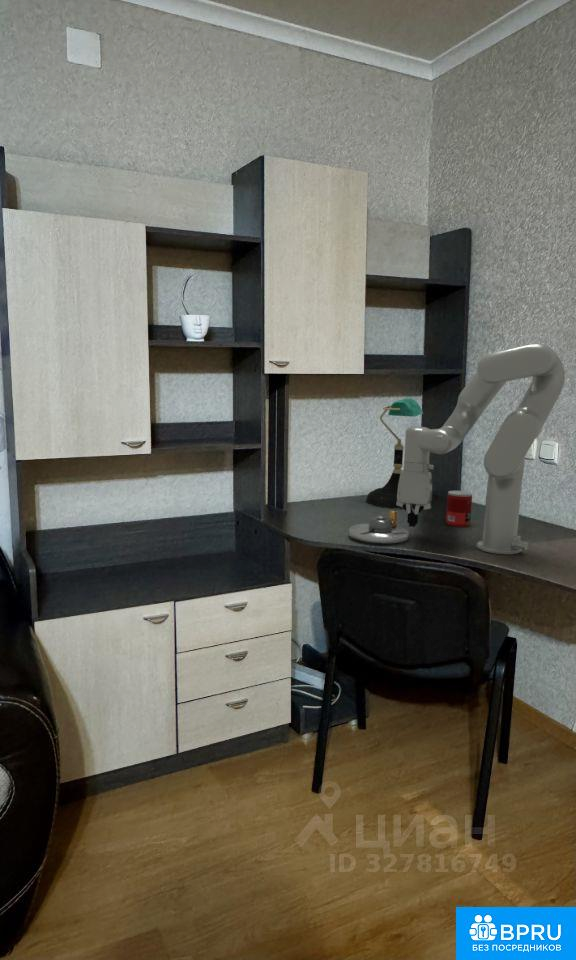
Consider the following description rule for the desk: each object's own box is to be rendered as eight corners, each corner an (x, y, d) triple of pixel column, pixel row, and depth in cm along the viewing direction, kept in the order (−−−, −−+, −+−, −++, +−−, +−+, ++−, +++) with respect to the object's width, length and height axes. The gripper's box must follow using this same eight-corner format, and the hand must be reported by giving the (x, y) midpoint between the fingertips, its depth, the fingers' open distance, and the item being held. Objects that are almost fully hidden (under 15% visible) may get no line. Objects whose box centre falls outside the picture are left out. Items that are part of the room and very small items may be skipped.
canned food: (470, 527, 231) (473, 495, 229) (446, 526, 232) (448, 493, 230) (469, 522, 238) (471, 491, 236) (445, 521, 240) (447, 489, 238)
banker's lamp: (421, 512, 253) (427, 402, 247) (359, 506, 260) (364, 399, 254) (430, 499, 278) (436, 399, 271) (373, 494, 285) (378, 396, 279)
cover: (396, 531, 212) (397, 517, 211) (381, 534, 207) (382, 519, 206) (378, 527, 217) (379, 512, 216) (363, 530, 212) (364, 515, 212)
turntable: (420, 537, 213) (421, 515, 212) (383, 546, 200) (384, 523, 199) (374, 526, 226) (375, 505, 224) (337, 534, 213) (337, 512, 212)
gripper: (442, 467, 213) (438, 526, 216) (394, 463, 218) (391, 520, 221) (438, 471, 206) (434, 531, 209) (389, 466, 211) (385, 525, 214)
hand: (412, 525), depth 215 cm, fingers closed
